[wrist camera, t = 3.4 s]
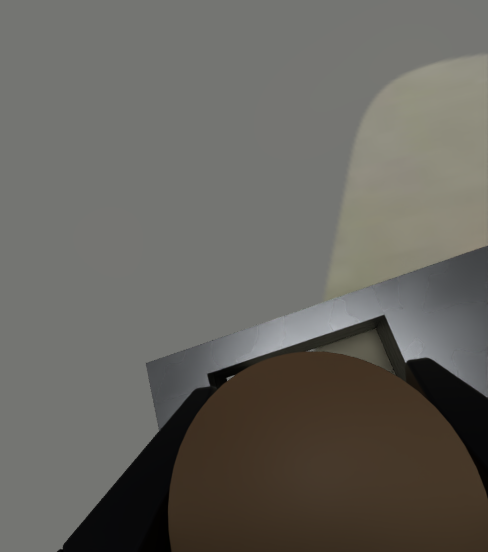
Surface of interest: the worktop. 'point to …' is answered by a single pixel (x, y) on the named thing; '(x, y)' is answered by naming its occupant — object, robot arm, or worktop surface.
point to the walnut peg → (323, 465)
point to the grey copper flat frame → (354, 331)
